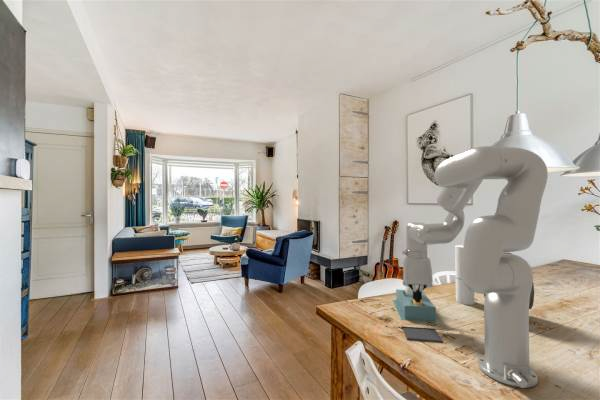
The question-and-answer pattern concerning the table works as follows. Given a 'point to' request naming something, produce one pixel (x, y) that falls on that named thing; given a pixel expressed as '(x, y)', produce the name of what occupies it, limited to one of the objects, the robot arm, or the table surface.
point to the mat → (421, 334)
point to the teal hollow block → (415, 308)
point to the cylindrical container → (462, 291)
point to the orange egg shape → (417, 302)
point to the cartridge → (409, 291)
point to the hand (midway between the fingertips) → (417, 300)
